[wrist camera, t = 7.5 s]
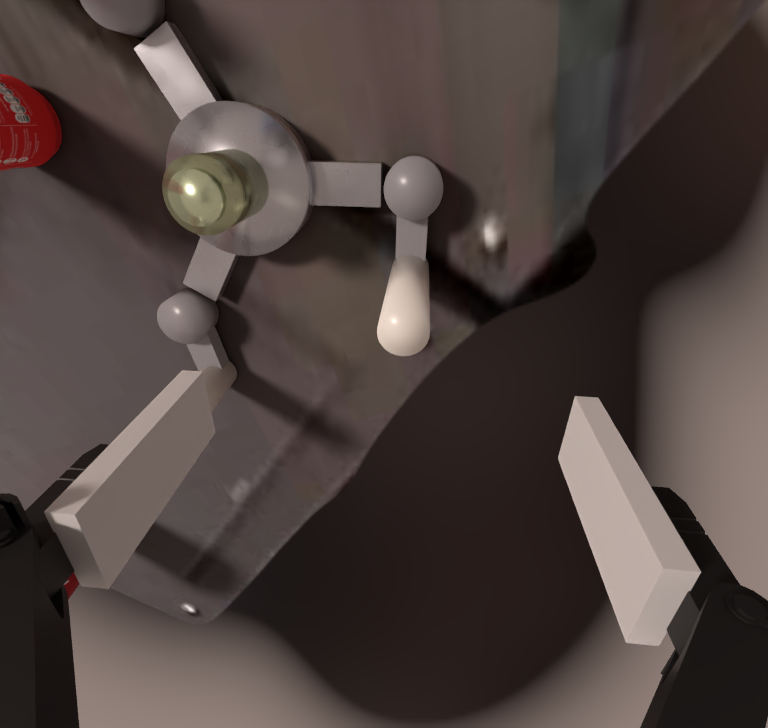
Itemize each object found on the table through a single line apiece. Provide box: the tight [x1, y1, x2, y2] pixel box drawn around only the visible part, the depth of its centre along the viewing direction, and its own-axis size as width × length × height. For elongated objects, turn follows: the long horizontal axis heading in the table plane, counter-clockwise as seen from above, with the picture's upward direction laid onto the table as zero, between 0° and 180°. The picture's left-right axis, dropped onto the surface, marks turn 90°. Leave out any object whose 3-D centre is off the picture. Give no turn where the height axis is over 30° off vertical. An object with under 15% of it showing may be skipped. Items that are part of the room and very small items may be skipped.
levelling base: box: [134, 21, 383, 301], centre depth 26 cm, size 17×14×8 cm
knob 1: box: [157, 288, 237, 412], centre depth 31 cm, size 9×4×11 cm, turn 12°
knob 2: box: [377, 154, 443, 356], centre depth 25 cm, size 9×4×11 cm, turn 179°
